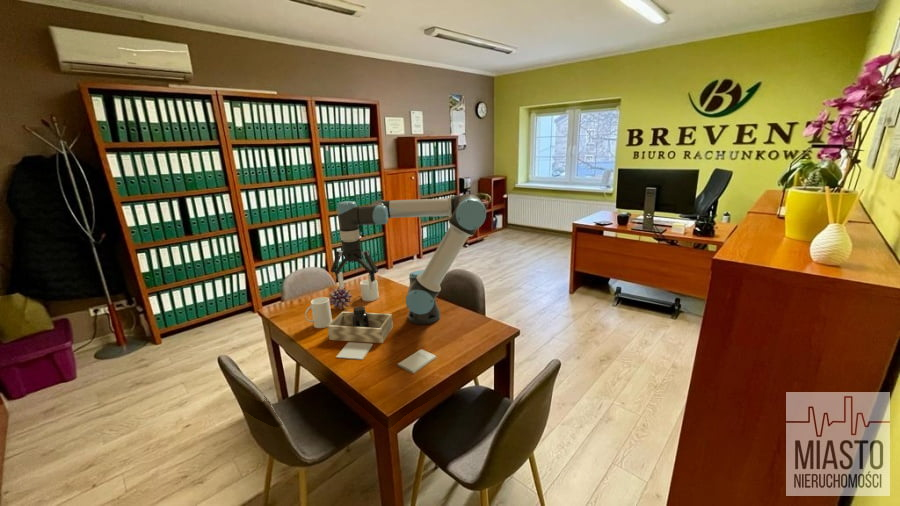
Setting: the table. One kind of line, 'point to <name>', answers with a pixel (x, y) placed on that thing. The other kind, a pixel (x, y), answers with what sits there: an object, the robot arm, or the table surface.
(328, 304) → the mug
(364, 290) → the mug
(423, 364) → the external hard drive
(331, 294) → the purple spiky ball
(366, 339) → the crate
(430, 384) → the table surface
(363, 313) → the supplement bottle
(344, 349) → the pad
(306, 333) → the table surface
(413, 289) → the robot arm
